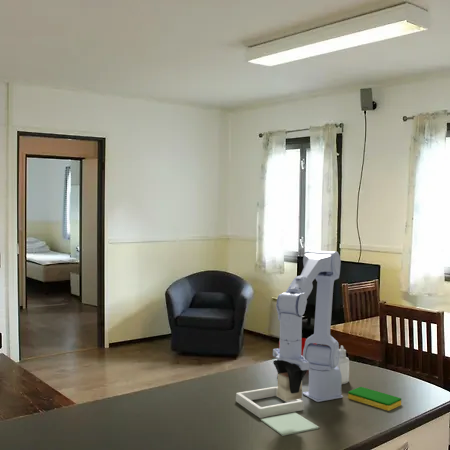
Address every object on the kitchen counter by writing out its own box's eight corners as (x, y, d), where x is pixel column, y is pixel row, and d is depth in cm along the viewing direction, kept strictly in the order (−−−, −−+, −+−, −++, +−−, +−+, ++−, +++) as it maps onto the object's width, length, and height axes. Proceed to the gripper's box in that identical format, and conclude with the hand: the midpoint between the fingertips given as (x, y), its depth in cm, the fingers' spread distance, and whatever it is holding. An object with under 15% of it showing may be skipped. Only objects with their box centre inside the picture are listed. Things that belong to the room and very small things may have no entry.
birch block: (293, 393, 152) (293, 370, 152) (301, 398, 149) (302, 375, 149) (277, 396, 150) (277, 373, 150) (285, 401, 147) (285, 377, 146)
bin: (276, 394, 173) (277, 386, 173) (303, 410, 160) (303, 401, 160) (235, 401, 167) (236, 392, 166) (259, 418, 154) (259, 408, 154)
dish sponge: (360, 394, 175) (360, 386, 175) (401, 406, 165) (401, 398, 165) (347, 399, 170) (347, 391, 170) (388, 412, 160) (388, 404, 160)
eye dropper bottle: (352, 384, 183) (353, 347, 183) (336, 385, 182) (336, 348, 181) (346, 379, 187) (347, 343, 187) (330, 380, 186) (331, 344, 186)
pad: (295, 413, 157) (295, 412, 157) (318, 428, 147) (318, 426, 147) (260, 420, 152) (260, 418, 152) (282, 435, 143) (282, 434, 143)
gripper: (263, 334, 154) (262, 383, 154) (292, 346, 141) (292, 401, 141) (285, 331, 157) (284, 380, 157) (316, 343, 144) (315, 396, 144)
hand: (289, 389), depth 150 cm, fingers closed on birch block, 4 cm apart
